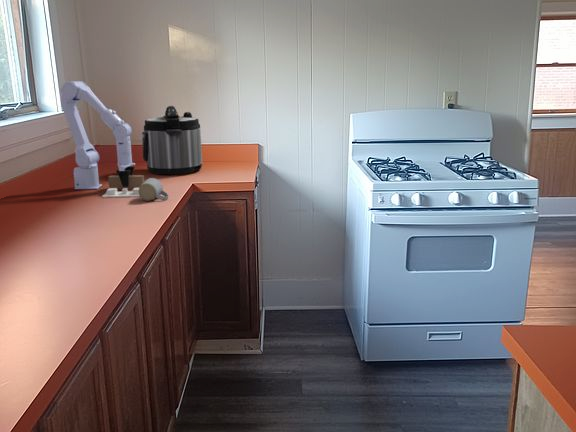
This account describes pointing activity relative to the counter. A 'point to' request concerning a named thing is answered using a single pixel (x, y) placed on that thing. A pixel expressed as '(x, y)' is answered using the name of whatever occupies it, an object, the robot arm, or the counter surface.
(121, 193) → the display stand
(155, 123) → the pressure cooker
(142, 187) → the ceramic mug
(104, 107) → the robot arm
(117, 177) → the frame bar
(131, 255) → the counter surface
